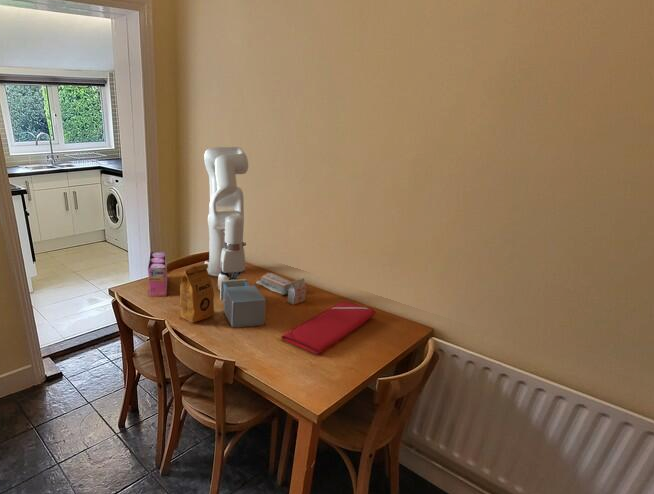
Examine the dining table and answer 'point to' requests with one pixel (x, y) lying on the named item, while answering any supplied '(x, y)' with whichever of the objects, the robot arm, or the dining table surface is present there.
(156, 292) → the gum box
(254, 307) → the blue-grey box
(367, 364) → the dining table surface
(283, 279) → the packaged product
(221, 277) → the capsule
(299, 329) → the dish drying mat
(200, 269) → the coffee package
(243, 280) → the tray
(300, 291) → the small milk carton
